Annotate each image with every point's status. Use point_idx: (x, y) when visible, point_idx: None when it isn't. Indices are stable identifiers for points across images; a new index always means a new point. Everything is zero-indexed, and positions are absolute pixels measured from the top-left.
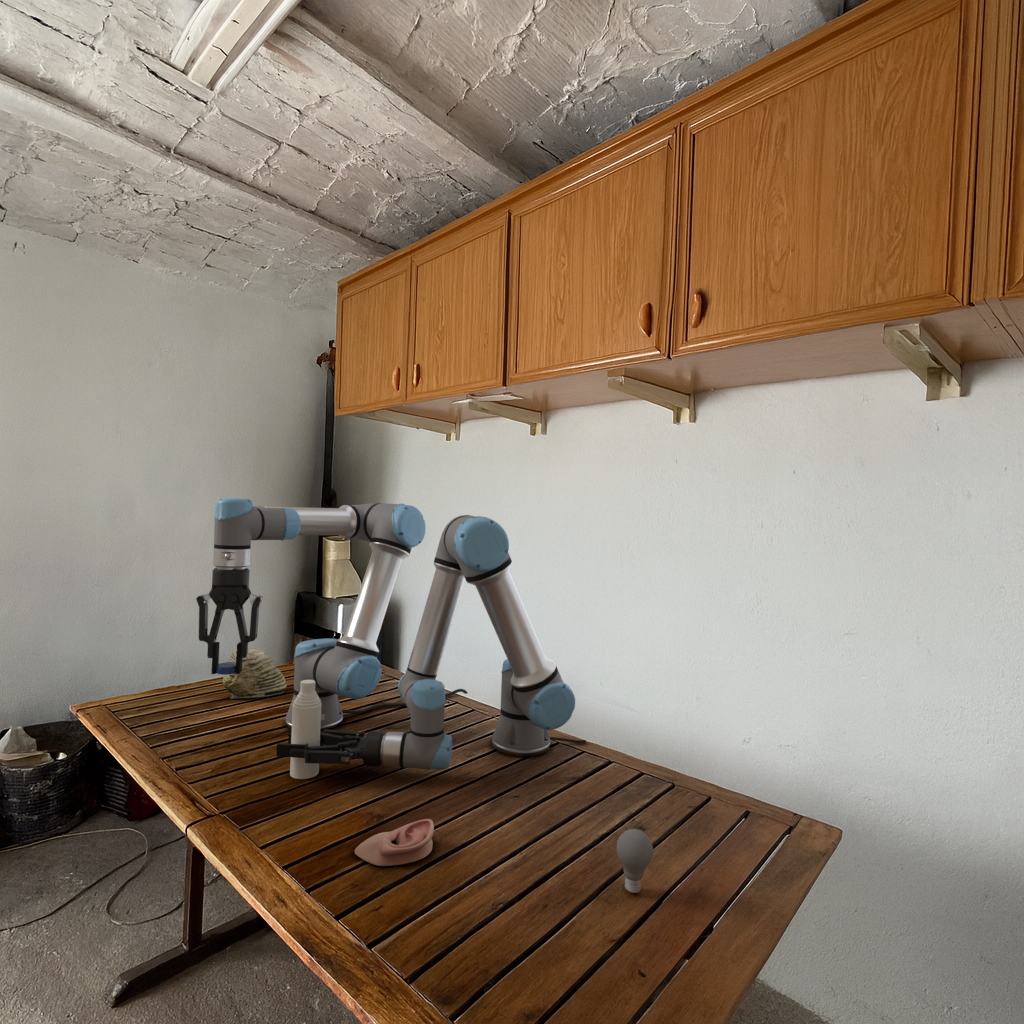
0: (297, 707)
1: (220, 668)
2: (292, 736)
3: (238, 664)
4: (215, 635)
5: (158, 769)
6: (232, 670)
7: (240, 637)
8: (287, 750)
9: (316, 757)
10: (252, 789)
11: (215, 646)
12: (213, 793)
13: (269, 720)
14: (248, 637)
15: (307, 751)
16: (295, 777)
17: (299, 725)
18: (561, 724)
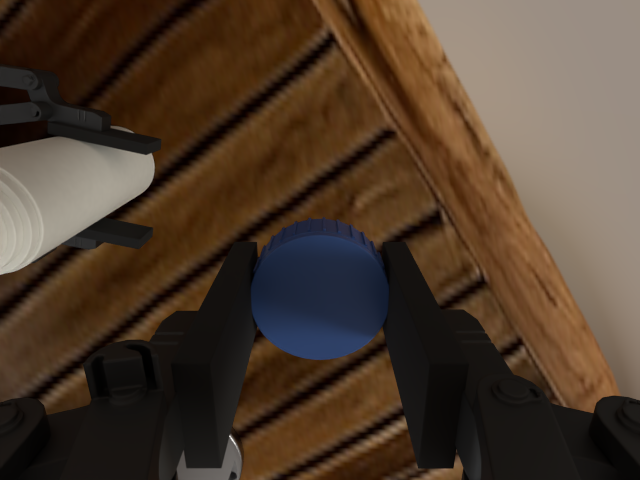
0: (1, 169)
1: (350, 240)
2: (94, 164)
3: (229, 268)
4: (482, 476)
5: (481, 220)
6: (272, 243)
7: (146, 434)
8: (118, 134)
9: (7, 66)
10: (226, 76)
11: (433, 352)
12: (319, 62)
13: (286, 469)
14: (57, 452)
15: (27, 75)
16: (131, 131)
17: (36, 149)
18: None
